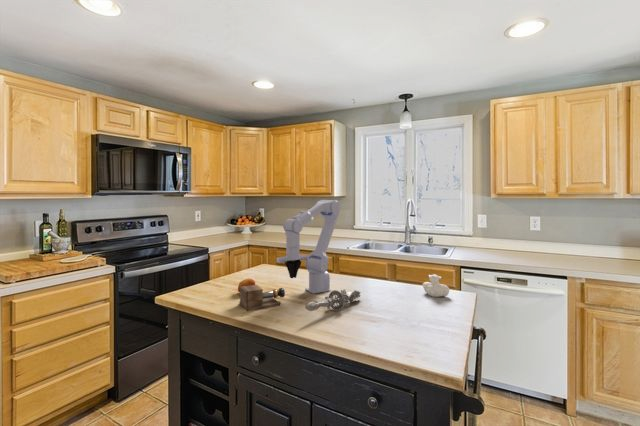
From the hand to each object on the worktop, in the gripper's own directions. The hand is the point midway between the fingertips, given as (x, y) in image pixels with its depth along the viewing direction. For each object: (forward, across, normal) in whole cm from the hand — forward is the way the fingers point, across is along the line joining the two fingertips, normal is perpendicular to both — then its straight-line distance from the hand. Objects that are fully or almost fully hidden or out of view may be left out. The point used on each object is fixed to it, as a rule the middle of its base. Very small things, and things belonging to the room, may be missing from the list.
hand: (292, 277), depth 142 cm
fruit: (+10, -15, +17) cm, 25 cm away
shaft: (+8, -11, 0) cm, 13 cm away
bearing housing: (+9, -15, 0) cm, 18 cm away
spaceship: (+10, +9, -21) cm, 25 cm away
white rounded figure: (+10, +58, -28) cm, 65 cm away
